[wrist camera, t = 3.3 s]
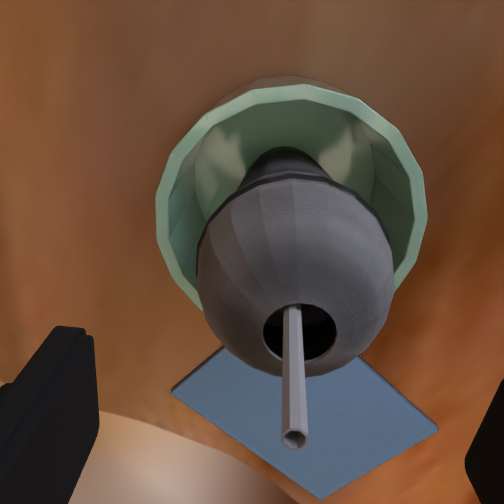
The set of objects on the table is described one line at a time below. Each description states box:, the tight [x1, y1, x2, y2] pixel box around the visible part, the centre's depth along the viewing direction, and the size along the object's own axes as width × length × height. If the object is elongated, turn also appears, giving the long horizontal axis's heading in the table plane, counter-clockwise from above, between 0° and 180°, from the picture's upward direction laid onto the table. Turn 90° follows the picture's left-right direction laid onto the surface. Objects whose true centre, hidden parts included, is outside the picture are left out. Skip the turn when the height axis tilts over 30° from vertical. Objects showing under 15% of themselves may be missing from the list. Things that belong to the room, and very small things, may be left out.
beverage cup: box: [196, 146, 395, 450], centre depth 17 cm, size 7×7×20 cm
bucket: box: [155, 75, 428, 312], centre depth 23 cm, size 12×12×8 cm
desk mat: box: [171, 346, 439, 500], centre depth 34 cm, size 18×13×1 cm
